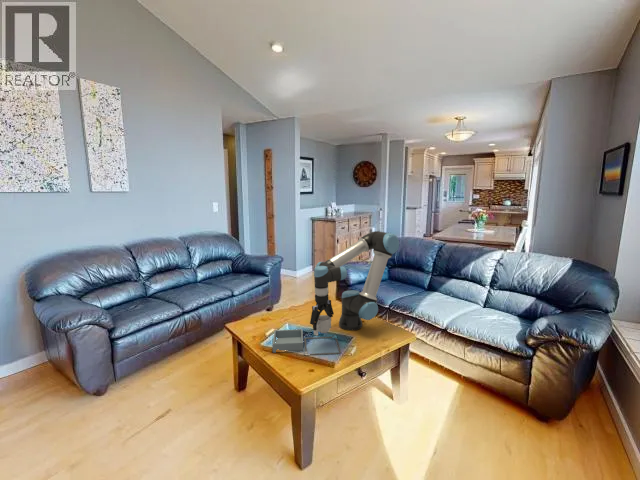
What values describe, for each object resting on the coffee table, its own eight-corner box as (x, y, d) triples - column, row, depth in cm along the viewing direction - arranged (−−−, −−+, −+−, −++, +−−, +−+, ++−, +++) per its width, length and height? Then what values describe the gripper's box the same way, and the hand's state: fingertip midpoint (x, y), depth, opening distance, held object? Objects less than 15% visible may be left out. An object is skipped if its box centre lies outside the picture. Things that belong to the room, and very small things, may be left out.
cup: (324, 337, 168) (323, 324, 167) (311, 334, 172) (311, 321, 171) (333, 329, 178) (332, 316, 176) (321, 326, 181) (320, 314, 180)
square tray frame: (337, 337, 187) (337, 333, 187) (342, 355, 167) (342, 351, 166) (302, 338, 185) (302, 335, 185) (303, 357, 165) (303, 353, 165)
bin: (302, 337, 186) (302, 329, 185) (303, 351, 170) (303, 342, 169) (274, 338, 185) (274, 330, 184) (272, 352, 169) (272, 344, 168)
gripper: (329, 287, 182) (330, 322, 186) (302, 298, 165) (303, 337, 169) (339, 289, 177) (340, 325, 181) (312, 301, 160) (314, 341, 164)
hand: (322, 331), depth 175 cm, fingers closed on cup, 11 cm apart
